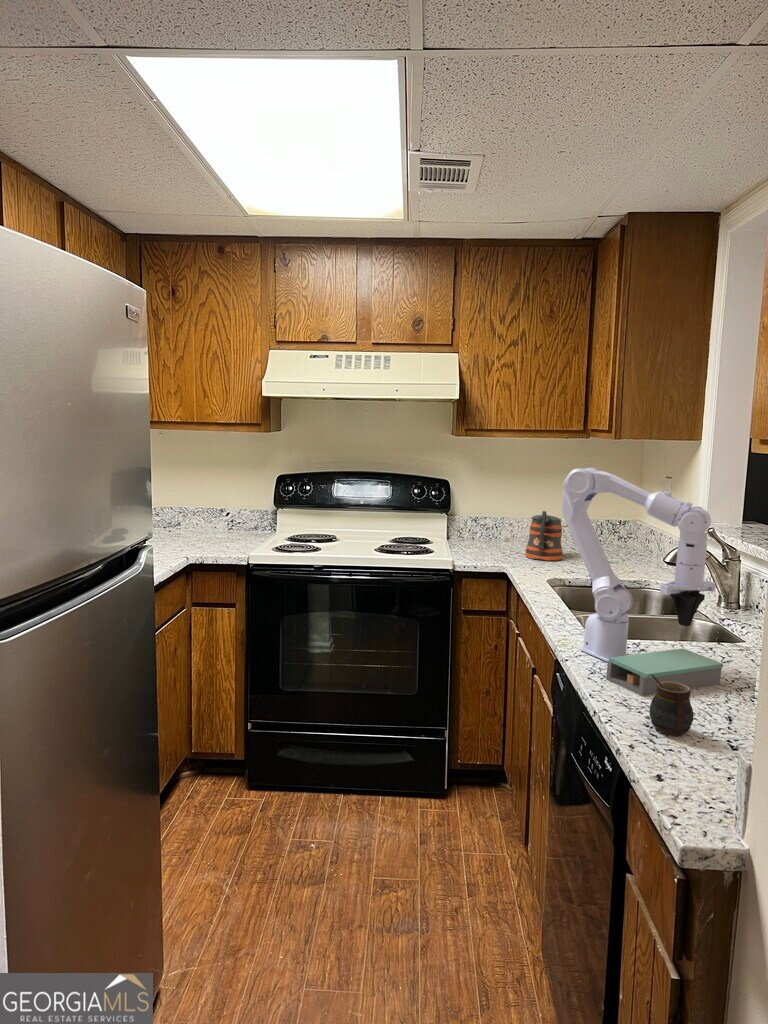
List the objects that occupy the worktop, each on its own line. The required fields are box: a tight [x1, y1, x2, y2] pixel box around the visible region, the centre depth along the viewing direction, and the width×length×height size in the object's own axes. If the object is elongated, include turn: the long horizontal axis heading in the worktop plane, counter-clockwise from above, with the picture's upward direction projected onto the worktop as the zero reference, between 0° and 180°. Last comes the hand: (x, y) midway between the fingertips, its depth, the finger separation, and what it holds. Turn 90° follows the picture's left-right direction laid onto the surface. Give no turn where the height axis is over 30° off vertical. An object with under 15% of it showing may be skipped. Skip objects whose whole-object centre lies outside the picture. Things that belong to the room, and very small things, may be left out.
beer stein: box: [525, 510, 563, 562], centre depth 291 cm, size 19×15×20 cm
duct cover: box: [609, 648, 724, 678], centre depth 153 cm, size 10×22×1 cm, turn 116°
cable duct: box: [605, 662, 723, 697], centre depth 154 cm, size 11×22×4 cm, turn 116°
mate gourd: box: [649, 674, 695, 737], centre depth 128 cm, size 7×8×10 cm
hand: (684, 625), depth 160 cm, fingers closed
